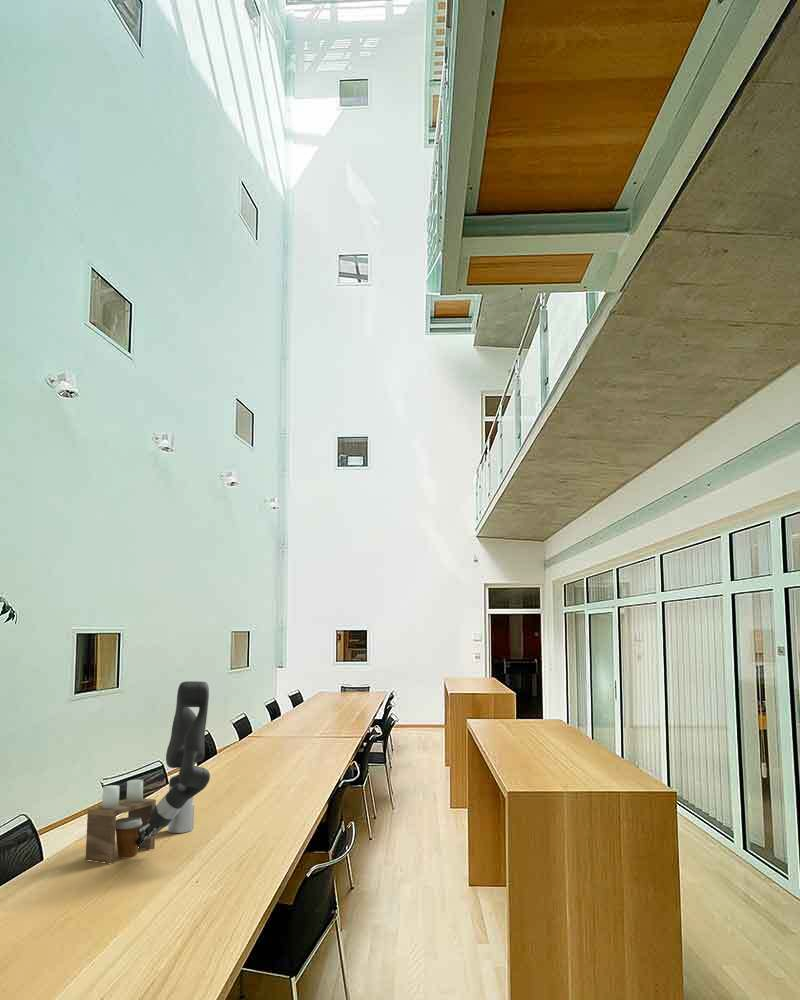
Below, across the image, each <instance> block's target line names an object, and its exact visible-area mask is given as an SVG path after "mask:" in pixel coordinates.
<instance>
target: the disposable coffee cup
mask: <svg viewBox="0 0 800 1000" xmlns="http://www.w3.org/2000/svg"><path fill="white" fill-rule="evenodd" d="M141 825H142V821H141V818H138V817H128V816H127V817H122V818H118V819H116V829H115V840H116V847H117V848H116V849H117V857H118V856H119V857H118V858H120V857H128V858H133V857H136V856H137V855H138V850H139V848H138V846H137V844H136V843H135V841H136V840H137V839H138V837H139V835H138V828H139V827H140V826H141ZM135 855H136V856H135ZM132 856H133V857H132Z"/></svg>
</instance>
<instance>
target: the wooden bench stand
mask: <svg viewBox="0 0 800 1000" xmlns="http://www.w3.org/2000/svg"><path fill="white" fill-rule="evenodd" d="M156 805H157V799H154V798H145V797H143V801H141V802H135V803H129V802H127V798H125V799H122V800H121V799H120V800H119V807H118V808H115V809H102V805H98V806H95V807H91V808H87V818H86V819H87V820H86V821H87V822H86V842H85V843H86V846H85V861H86V860H92V861H98V862H105V863H112V864H114V863H115V855H116V854H115V853H116V852H115V850H116V849H115V848H116V820H117V816H119V815H121V814H125V813H127V814H128V815H127V817H138V818H141V821H142V825H141V827H144V826H145V824H146V823H147V821H148V820H149V819H150V813H151V811H152V810H153V809H154V807H155V806H156ZM155 836H156V834H155V835H154V836H150V837H149V838H148V839H146V841H145V842H144V843H143V844H142V845H141V846H138V847H139V848H138V849H141V848H145V849H144V850H148V849H151V850H154V849H155V844H156V843H155V840H156V837H155ZM98 862H97V863H98ZM113 862H114V863H113ZM105 863H104V864H105Z"/></svg>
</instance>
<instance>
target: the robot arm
mask: <svg viewBox="0 0 800 1000" xmlns="http://www.w3.org/2000/svg"><path fill="white" fill-rule="evenodd" d="M209 699H210V688H209V685H208V683H207V682H206V681H182V682H181V683H179V686H178V689H177V695H176V705H175V706H176V707H175V713H174V717H173V722H172V726H171V733H170V739H169V743H168V745H167V749H166V753H165V762H166V765H167V767H168V768H171V769H179V771H178V774H177V775H174V776H172V777H170V779H169V781H168V782H169V783H168V784H169V785H168V792H167V793H165V795H163V797H162V798H161V799H160V800H159V802H157V803H156V806H155V807H154V809H153V810H152V811H151V813H150V819H149V820H148V821H147V823H146V824H145V826H144V827H141V826H140V827H139V828H138V835H139V837H138V839H137V840H136V841H135V843H136V844H137V846H141V845H142V844H143V843H144V842H145V841H146V839H148V838H149V837H150V836H154V835H155V836H156V834H158V833H159V832H160V831H161V830H162V829H164V828H166V827H167V832H168V833H171V834H181V833H182V834H183V833H189V832H191V831H192V830H193V829H195V828H194V825H195V822H194V821H195V818H194V817H195V803H194V801H193V800H194V796H197V795H198V794H199V793H201V792H202V791H203V790H204V789H206V787H207V785H208V784H209V782H210V778H211V774H210V771H209V770H208V769H207V768H205V767H200V766H198V765H195V763H199V762H202V761H203V760H204V758H205V751H206V750H205V746H206V744H205V742H206V740H205V739H206V738H205V736H206V734H205V733H206V726H207V725H206V724H207V718H208V709H209ZM191 708H198V713H197V715H196V713H195V712H194V710H192V709H191Z"/></svg>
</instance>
